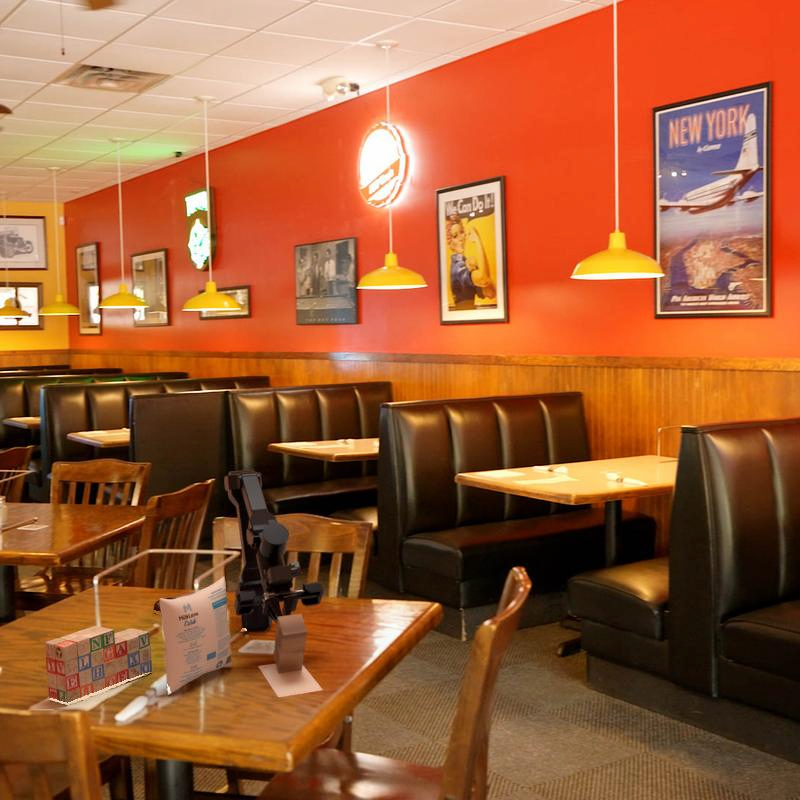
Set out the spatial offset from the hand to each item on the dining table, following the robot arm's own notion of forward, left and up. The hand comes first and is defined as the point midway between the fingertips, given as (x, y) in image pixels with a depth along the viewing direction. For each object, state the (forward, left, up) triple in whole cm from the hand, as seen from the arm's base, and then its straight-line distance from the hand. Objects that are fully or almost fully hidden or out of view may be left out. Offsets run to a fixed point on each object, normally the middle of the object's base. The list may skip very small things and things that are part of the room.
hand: (286, 632), depth 211 cm
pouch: (-17, -6, -9) cm, 20 cm away
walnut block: (0, +1, -7) cm, 7 cm away
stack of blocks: (-37, -9, -9) cm, 39 cm away
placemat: (+1, -5, -8) cm, 10 cm away
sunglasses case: (-38, +48, -9) cm, 62 cm away
